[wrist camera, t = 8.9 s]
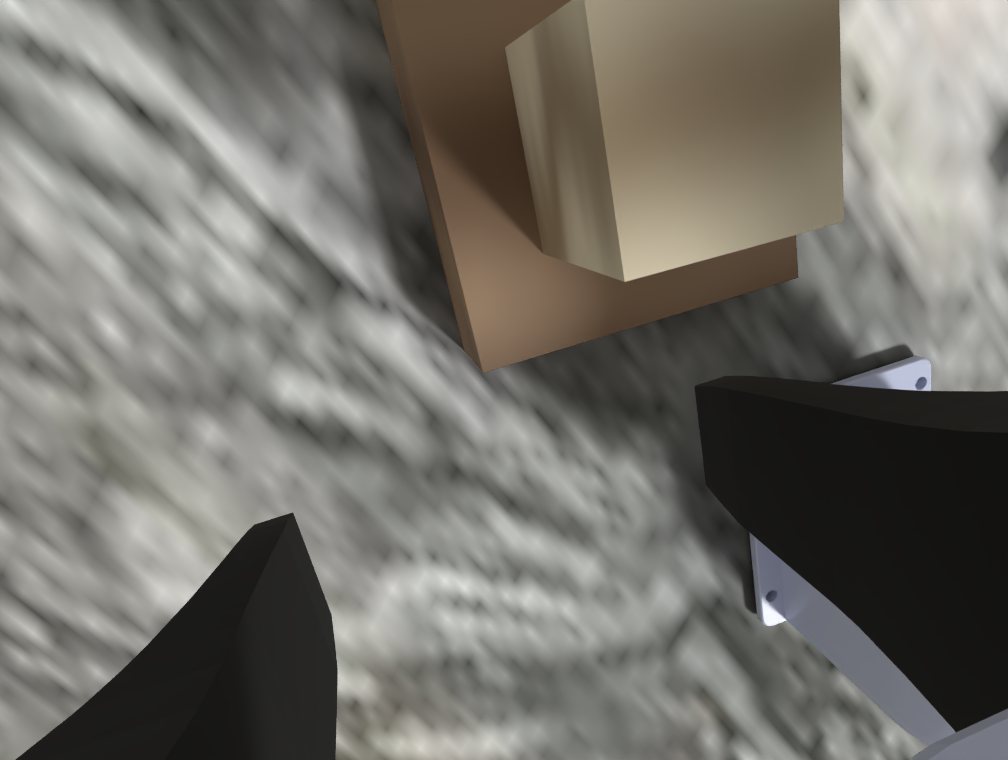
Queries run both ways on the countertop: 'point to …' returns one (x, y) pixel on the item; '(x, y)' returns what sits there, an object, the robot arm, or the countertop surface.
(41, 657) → the countertop surface
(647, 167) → the maple cube
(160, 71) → the countertop surface
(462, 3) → the walnut block
